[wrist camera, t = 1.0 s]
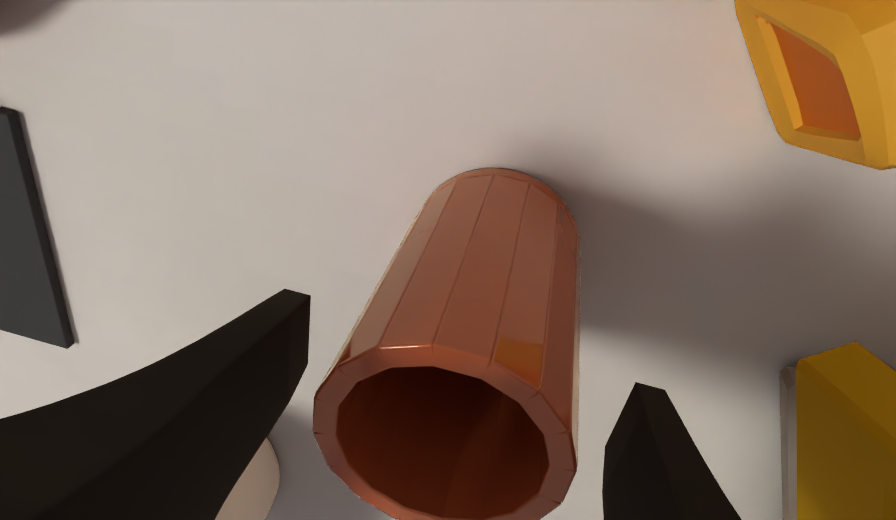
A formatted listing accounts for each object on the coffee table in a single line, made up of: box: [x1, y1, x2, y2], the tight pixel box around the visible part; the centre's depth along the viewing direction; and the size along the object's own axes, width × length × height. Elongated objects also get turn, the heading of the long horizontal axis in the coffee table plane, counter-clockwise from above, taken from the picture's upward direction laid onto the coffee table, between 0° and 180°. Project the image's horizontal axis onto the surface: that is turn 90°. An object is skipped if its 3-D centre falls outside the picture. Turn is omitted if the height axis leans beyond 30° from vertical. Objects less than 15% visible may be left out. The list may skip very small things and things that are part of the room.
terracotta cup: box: [312, 168, 581, 520], centre depth 14 cm, size 5×5×8 cm
